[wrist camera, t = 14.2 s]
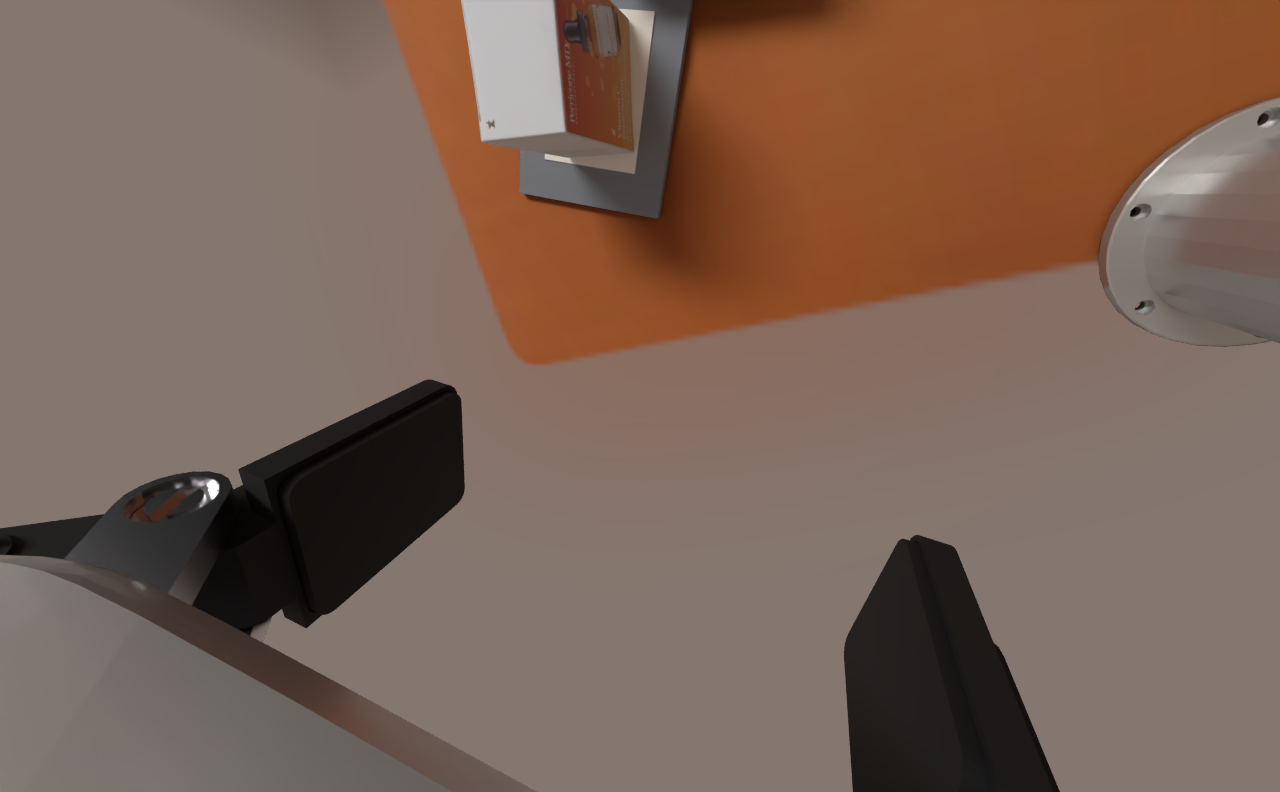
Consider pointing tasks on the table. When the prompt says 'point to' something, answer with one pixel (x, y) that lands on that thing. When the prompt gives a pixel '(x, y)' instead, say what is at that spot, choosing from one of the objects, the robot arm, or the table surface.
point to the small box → (552, 75)
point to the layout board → (633, 178)
